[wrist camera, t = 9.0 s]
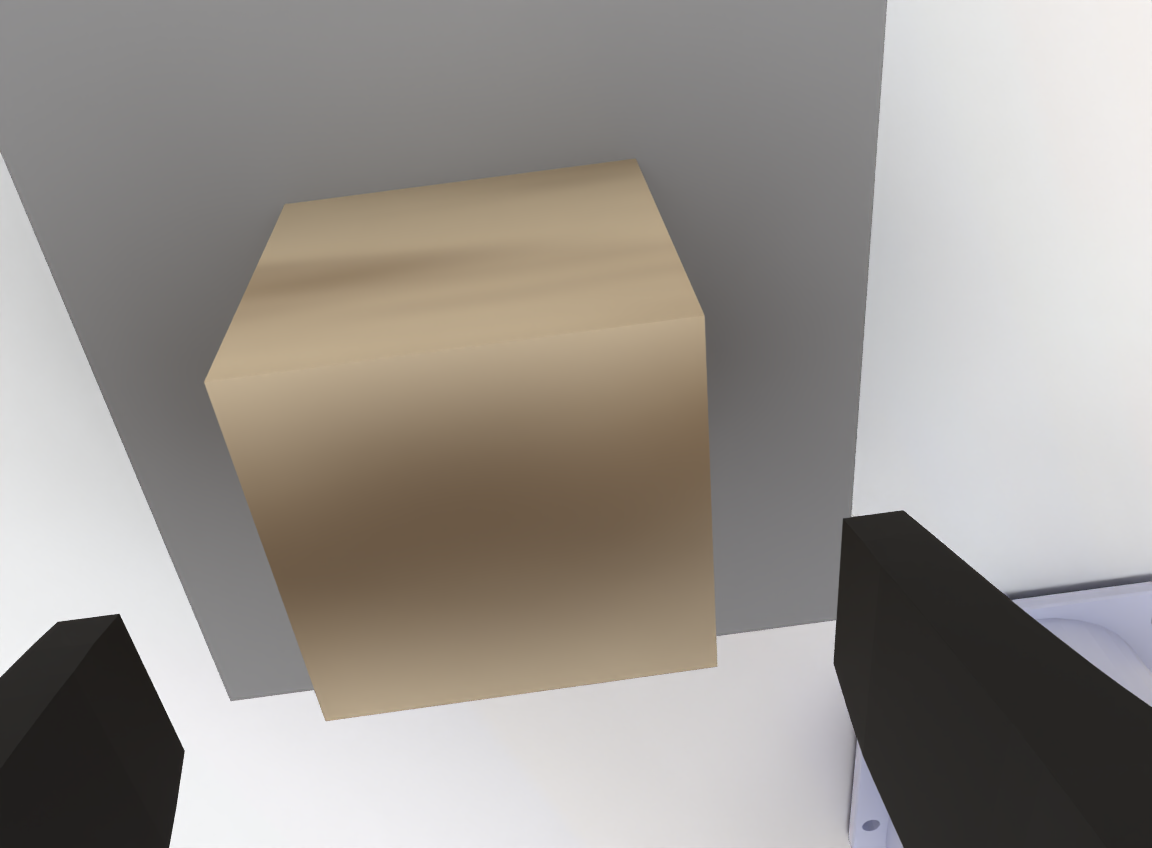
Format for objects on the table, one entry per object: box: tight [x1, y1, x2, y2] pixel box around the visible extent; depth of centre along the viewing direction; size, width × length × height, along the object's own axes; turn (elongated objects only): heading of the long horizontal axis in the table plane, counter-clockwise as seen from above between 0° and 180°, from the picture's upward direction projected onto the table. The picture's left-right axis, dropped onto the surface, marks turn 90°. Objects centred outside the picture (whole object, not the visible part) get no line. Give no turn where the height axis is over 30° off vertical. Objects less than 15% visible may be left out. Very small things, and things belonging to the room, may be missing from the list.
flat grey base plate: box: [0, 0, 887, 701], centre depth 17 cm, size 14×12×4 cm
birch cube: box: [204, 159, 717, 721], centre depth 13 cm, size 5×5×5 cm
